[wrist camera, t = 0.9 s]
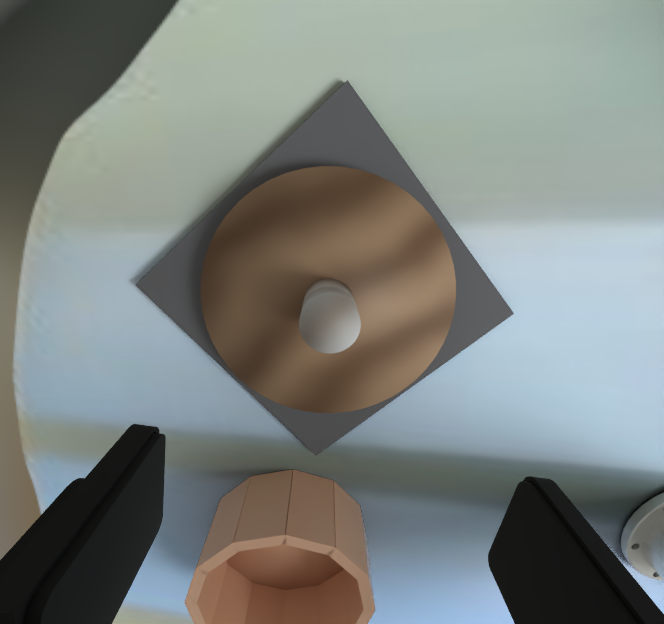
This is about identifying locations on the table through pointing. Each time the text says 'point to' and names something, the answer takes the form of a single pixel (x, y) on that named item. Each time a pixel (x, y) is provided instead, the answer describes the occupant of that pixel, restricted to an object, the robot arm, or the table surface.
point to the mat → (313, 151)
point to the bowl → (284, 556)
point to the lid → (328, 289)
